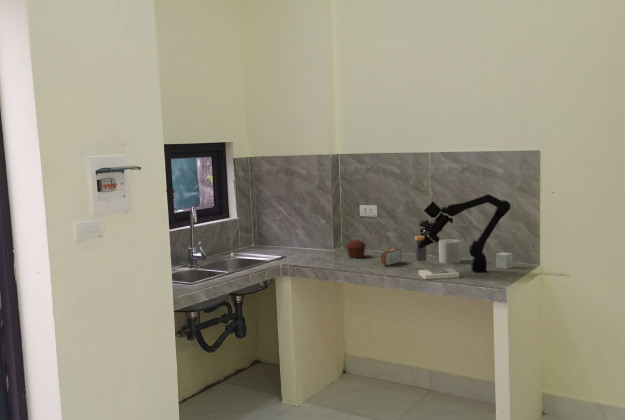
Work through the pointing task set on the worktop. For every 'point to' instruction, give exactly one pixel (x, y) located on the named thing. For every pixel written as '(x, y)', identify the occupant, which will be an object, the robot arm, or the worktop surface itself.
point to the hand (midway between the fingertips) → (417, 247)
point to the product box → (504, 260)
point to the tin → (391, 256)
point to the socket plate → (438, 273)
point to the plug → (420, 252)
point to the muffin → (356, 249)
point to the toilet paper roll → (450, 251)
